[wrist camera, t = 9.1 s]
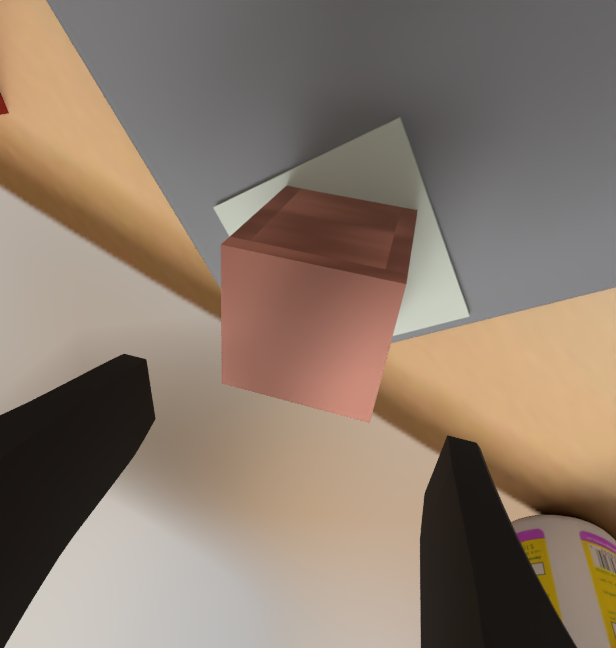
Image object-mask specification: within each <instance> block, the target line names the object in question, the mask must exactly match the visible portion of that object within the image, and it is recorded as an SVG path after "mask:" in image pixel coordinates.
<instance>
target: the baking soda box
mask: <svg viewBox="0 0 616 648" xmlns="http://www.w3.org/2000/svg"><path fill="white" fill-rule="evenodd" d="M7 113H8V110H7V108H6V106H5V103H4V101H3V98H2V96H1V93H0V115H1V114H7Z"/></svg>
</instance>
